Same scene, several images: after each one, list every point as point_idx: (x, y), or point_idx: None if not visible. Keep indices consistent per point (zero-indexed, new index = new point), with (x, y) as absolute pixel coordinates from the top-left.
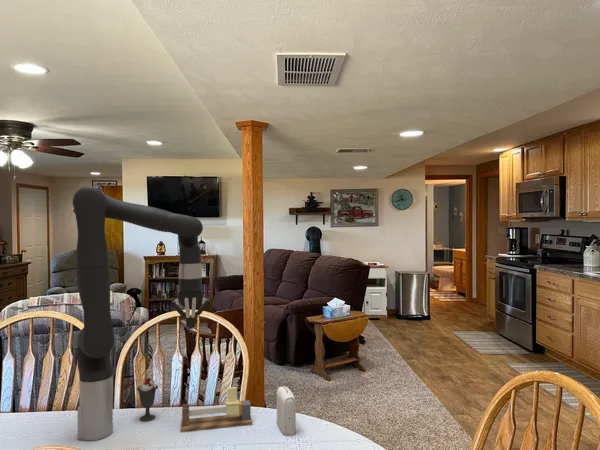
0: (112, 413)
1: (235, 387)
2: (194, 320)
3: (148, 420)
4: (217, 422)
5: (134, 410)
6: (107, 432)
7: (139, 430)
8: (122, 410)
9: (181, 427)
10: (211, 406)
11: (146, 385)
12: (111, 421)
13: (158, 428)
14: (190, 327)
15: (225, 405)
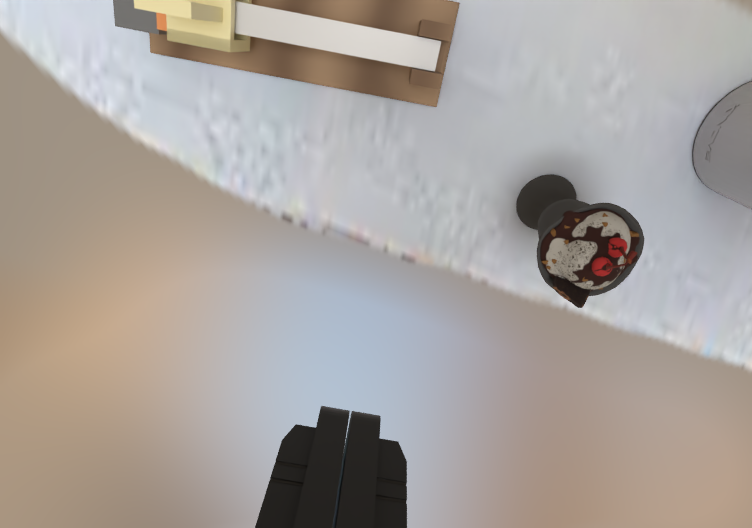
0: (749, 143)
1: (142, 2)
2: (266, 511)
3: (549, 176)
4: (297, 3)
5: None
6: (740, 93)
7: (602, 100)
8: (608, 307)
9: (452, 18)
10: (307, 41)
11: (613, 230)
12: (738, 123)
13: (530, 87)
14: (347, 436)
15: (239, 23)
